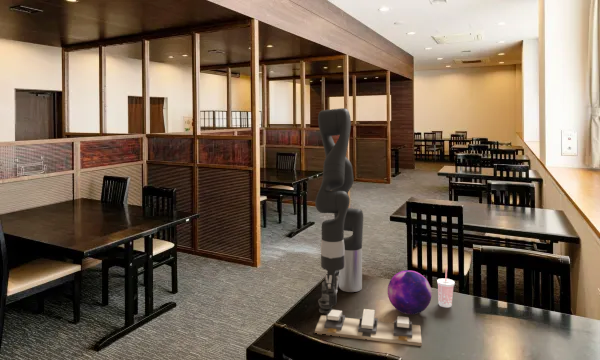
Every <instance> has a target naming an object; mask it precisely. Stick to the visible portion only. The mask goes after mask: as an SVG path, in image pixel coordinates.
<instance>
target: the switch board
mask: <svg viewBox="0 0 600 360" xmlns="http://www.w3.org/2000/svg"><path fill="white" fill-rule="evenodd" d="M328 314H329V313H327V314H325V315H324V314H323V315H322V314H321V315H320V317H319V319H318V322H317V323H316V326H315V329H314V334H315V333H317V334H316V335H322V334H326V335H325V336H330V335H332V336H331V337H339V336H340V338H349V339H350V338H351V339H358V340H359V339H360V340H365V339H367V340H366V341H375V342H383V343H391V344H401V345H408V346H409V345H410V346H416V347H417V346H419V347H422V345H423V344H422V343H423V342H422V331H421V325H420V324H413V321H409V328H405V327H397V319H394V321H393V322H392V321H391V322H390V321H381V320H379V319H378V318H376V317H374V324H373V329H367V328H361V324H362V318H363V316H360V317H359V318H352V317H346V315H345V314H342V315H341V317H340V319H339V320H329V319H327V316H328Z"/></svg>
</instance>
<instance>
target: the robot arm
mask: <svg viewBox="0 0 600 360" xmlns="http://www.w3.org/2000/svg"><path fill="white" fill-rule="evenodd" d="M317 122H318V123H317V124H318V129H319V132H320V133H319V134H320V136H321V137H320V138H321V140H322V145H323V150H324V155H325V158H324V161H323V169H322V179H321V180H322V181H321V184H320V187H319V190H318V192H317V194H316V197H315V202H314V203H315V209H316V210H317V212H319V213H321V214H334V215H333V217H334V218H332V219H330V218H329V219H326V220H323V222H322V223H321V242H320V243H321V244H320V266H321V268H322V269H323V270H325V271H326V273H325V279H326V281H327V283H326V284H325V287H326V291H327V295H329V305H331V306H332V307H334V306H335V307H336V306H337V298H338V296H337V293H338V289H340V290H341V291H343V292H347V293H354V292H359V291H361V290H362V288H363V235H364V234H363V233H364V230H363V229H364V212H363V211H362V209H360V208H353V207H350V201H351V200H350V196H349V194H348V193H349V192H350V191H351V188H353V184H354V170H353V165H352V163H351V161H350V160H349V158H348V157H347V152H348V146H349V141H350V134H351V128H352V125H351V124H352V123H351V122H352V121H351V115H350V111H349V109H347V108H334V109H324V110H321V111H319V113H318V116H317ZM333 136H335V137H336V136H338V139H337V140H336V143H335V140H334V139H333ZM344 231H346V232H352V235H349V236H347V237H344V236H345V232H344Z"/></svg>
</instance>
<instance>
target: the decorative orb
mask: <svg viewBox="0 0 600 360" xmlns="http://www.w3.org/2000/svg"><path fill="white" fill-rule="evenodd" d="M432 293H433V292H432V287H431V285H430V283H429V281H428V279H427V278H426V277H425V276H424V275H422V274H421V273H420V272H418V271H415V270H402V271H399V272H396V273H395V274H394V275H393V276H392V277H391V278H390V280H389V282H388V286H387V297H388V299H389V302H390V304H391V305H392V306H393V308H395V309H396V310H397V311H398V312H400V313H402V314H405V315H417V314H420V313H422V312H423V311H425V310H426V309H427V308H428V307H429V305H430V303H431V299H432V295H433V294H432Z"/></svg>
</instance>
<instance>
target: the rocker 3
mask: <svg viewBox="0 0 600 360" xmlns="http://www.w3.org/2000/svg"><path fill="white" fill-rule="evenodd" d="M396 320H397V327H405V328H409V322H410V318H409V317H408V316H400V315H398V316H397V318H396Z"/></svg>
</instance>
